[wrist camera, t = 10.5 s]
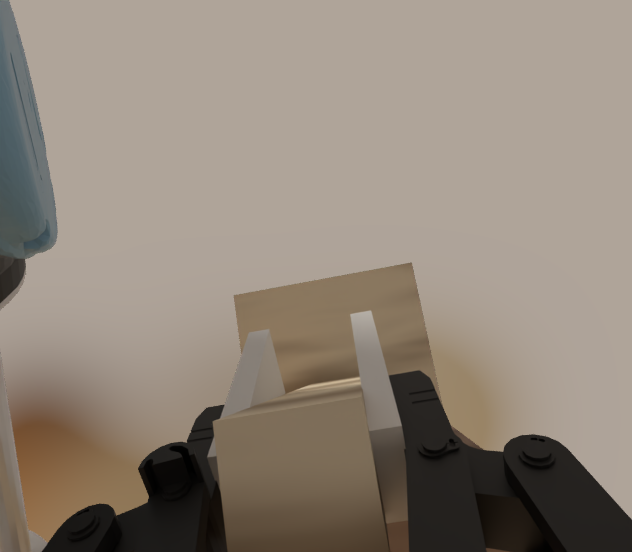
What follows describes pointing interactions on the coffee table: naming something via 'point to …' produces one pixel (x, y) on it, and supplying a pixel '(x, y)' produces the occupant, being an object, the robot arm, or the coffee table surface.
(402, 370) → the stepped beige block
